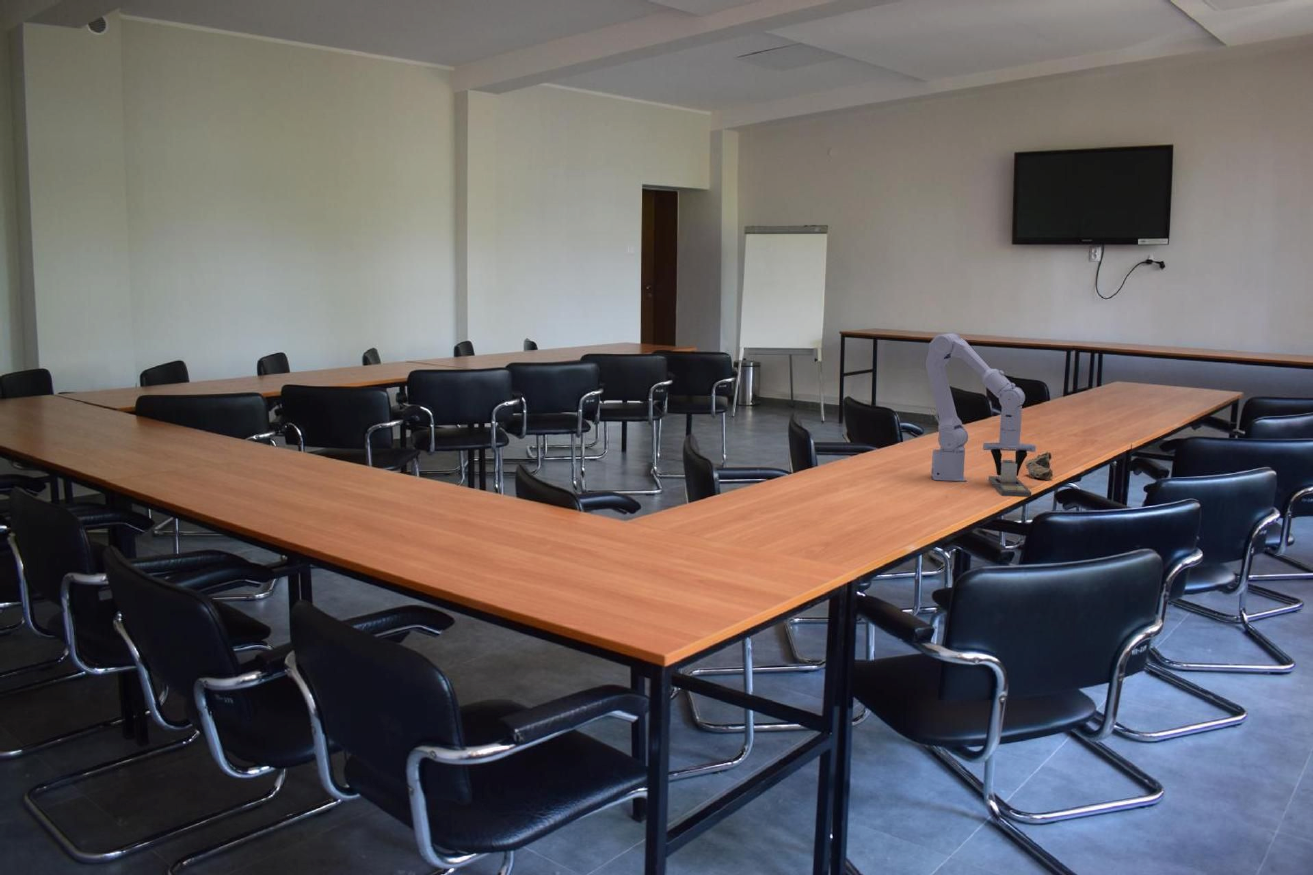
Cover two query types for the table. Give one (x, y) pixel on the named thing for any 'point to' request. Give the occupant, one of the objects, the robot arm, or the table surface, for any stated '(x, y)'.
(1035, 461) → the rock
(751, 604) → the table surface
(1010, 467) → the grey upright block
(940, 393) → the robot arm
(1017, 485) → the rail plate
